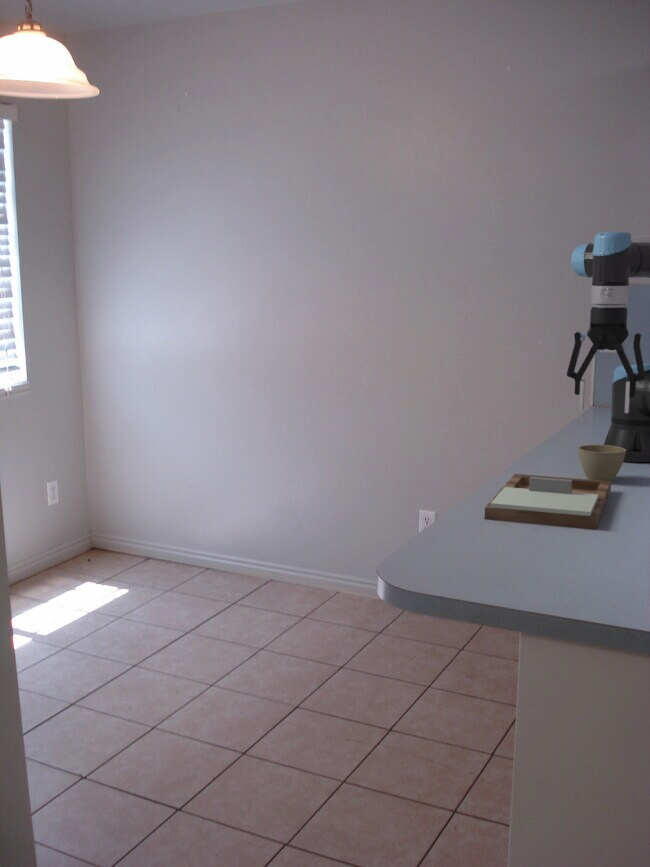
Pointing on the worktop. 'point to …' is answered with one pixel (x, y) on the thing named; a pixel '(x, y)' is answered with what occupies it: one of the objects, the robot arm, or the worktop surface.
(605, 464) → the flower pot
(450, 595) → the worktop surface
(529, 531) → the worktop surface
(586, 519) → the wooden box
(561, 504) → the lid
